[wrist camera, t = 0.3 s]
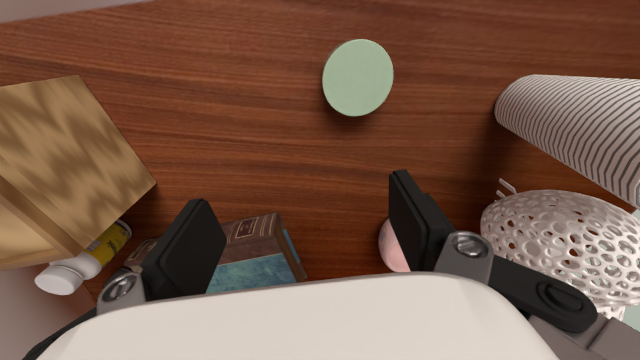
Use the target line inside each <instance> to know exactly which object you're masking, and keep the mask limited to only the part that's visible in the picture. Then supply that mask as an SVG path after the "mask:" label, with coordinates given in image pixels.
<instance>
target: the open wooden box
mask: <svg viewBox="0 0 640 360" xmlns="http://www.w3.org/2000/svg"><path fill="white" fill-rule="evenodd" d="M155 184H156V181H155V180H154V179H153V177H152V176H151V174H150V173H149V172H148V170H147V169H146V167H145V166H144V165H143V163H142V162H141V161H140V159H139V158H138V156H137V155H136V154H135V152H134V151H133V149H132V148H131V147H130V145H129V144H128V143H127V141H126V140H125V138H124V137H123V136H122V134H121V133H120V131H119V130H118V129H117V127H116V126H115V125H114V123H113V122H112V120H111V119H110V118H109V116H108V115H107V113H106V112H105V111H104V109H103V108H102V107H101V105H100V104H99V102H98V101H97V100H96V98H95V97H94V95H93V94H92V93H91V91H90V90H89V89H88V87H87V86H86V84H85V83H84V82H83V80H82V79H81V77H80V76H79V75H75V76H69V77H62V78H56V79H49V80H43V81H36V82H29V83H23V84H16V85H10V86H3V87H0V271H5V270H10V269H15V268H20V267H26V266H32V265H37V264H42V263H47V262H53V261H59V260H64V259H70V258H75V257H77V256H78V255H79V254H80V253H81V252H82V251H83V250H84V249H86V248H87V247H88V246H89V245H90V244H91V243H92V242H93V241H94V240H95V239H96V238H98V237H99V236H100V235H101V234H102V233H103V232H104V231H105V230H106V229H107V228H108V227H109V226H111V225H112V224H113V223H114V222H115V221H116V220H117V219H118V218H119V217H120V216H121V215H122V214H124V213H125V212H126V211H127V210H128V209H129V208H130V207H131V206H132V205H133V204H134V203H135V202H137V201H138V200H139V199H140V198H141V197H142V196H143V195H144V194H145V193H146V192H147V191H148V190H150V189H151V188H152V187H153V186H154V185H155Z"/></svg>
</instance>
